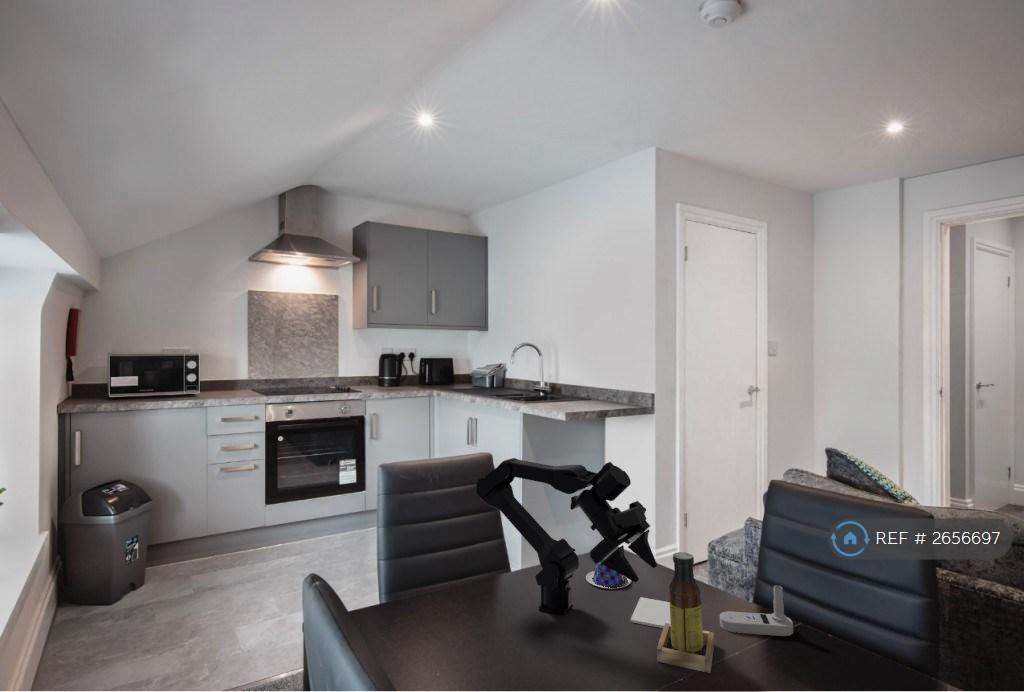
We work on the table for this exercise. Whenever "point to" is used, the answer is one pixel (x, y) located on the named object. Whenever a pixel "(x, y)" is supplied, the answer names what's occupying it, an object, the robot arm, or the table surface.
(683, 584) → the sauce bottle
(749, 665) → the table surface
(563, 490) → the robot arm
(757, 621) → the electronic device
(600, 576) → the pudding
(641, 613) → the coaster
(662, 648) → the bottle holder
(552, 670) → the table surface
